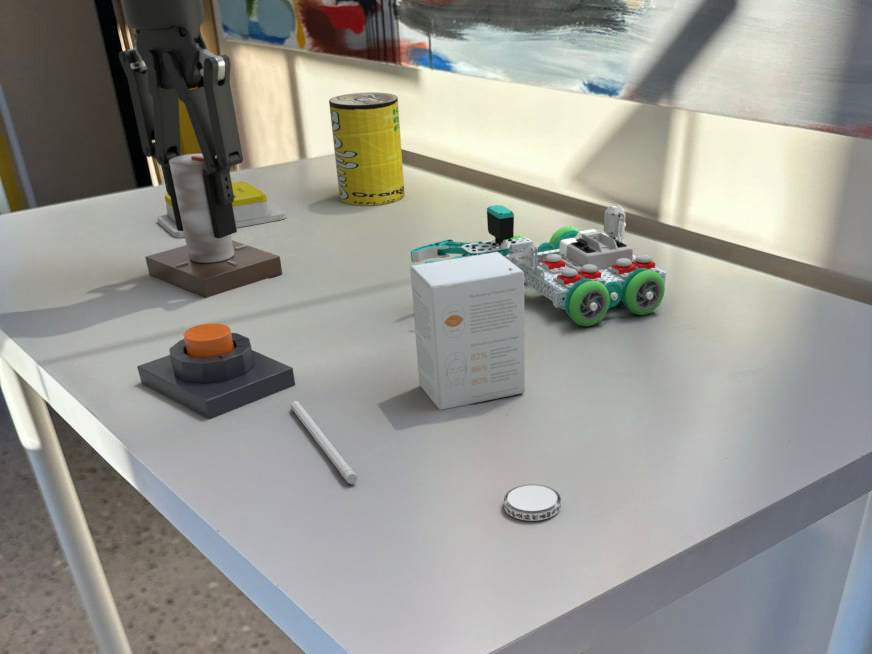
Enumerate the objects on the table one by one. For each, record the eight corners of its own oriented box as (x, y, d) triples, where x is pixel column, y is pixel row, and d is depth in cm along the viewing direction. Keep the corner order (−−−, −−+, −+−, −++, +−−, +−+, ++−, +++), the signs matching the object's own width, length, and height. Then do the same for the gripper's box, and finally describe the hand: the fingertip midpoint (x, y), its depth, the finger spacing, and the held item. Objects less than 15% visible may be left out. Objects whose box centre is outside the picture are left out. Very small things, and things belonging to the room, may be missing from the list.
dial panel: (149, 274, 111) (144, 255, 109) (222, 253, 116) (219, 234, 115) (207, 298, 104) (203, 277, 103) (282, 274, 110) (279, 254, 108)
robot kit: (394, 294, 103) (386, 201, 98) (598, 257, 111) (603, 169, 105) (463, 355, 90) (458, 252, 84) (690, 309, 98) (701, 211, 92)
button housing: (141, 383, 87) (131, 346, 85) (225, 353, 92) (218, 317, 90) (209, 420, 81) (200, 380, 79) (295, 385, 86) (289, 347, 84)
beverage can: (380, 184, 139) (372, 89, 132) (417, 196, 134) (411, 98, 126) (327, 196, 135) (315, 99, 127) (363, 209, 129) (353, 108, 122)
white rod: (298, 398, 82) (359, 475, 71) (294, 407, 82) (354, 485, 72) (289, 395, 81) (349, 471, 71) (285, 404, 82) (344, 482, 71)
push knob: (178, 352, 84) (174, 332, 83) (217, 338, 87) (213, 319, 86) (204, 364, 82) (199, 344, 81) (243, 350, 84) (239, 330, 83)
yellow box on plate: (148, 185, 125) (258, 168, 130) (156, 221, 128) (264, 202, 133) (168, 201, 118) (283, 182, 124) (176, 238, 121) (288, 218, 127)
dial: (179, 258, 108) (158, 158, 102) (212, 246, 112) (193, 148, 105) (211, 265, 106) (191, 163, 100) (243, 253, 109) (226, 153, 103)
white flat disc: (550, 524, 66) (550, 516, 66) (495, 514, 68) (495, 507, 67) (567, 496, 69) (568, 488, 69) (515, 487, 71) (515, 480, 70)
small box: (501, 370, 87) (499, 250, 81) (526, 394, 83) (526, 269, 76) (417, 386, 85) (408, 263, 78) (438, 412, 81) (430, 285, 74)
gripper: (254, -24, 91) (291, 233, 106) (124, -28, 99) (175, 212, 114) (195, -16, 86) (243, 252, 101) (63, -21, 94) (125, 229, 109)
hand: (207, 230), depth 107 cm, fingers closed on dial, 5 cm apart
